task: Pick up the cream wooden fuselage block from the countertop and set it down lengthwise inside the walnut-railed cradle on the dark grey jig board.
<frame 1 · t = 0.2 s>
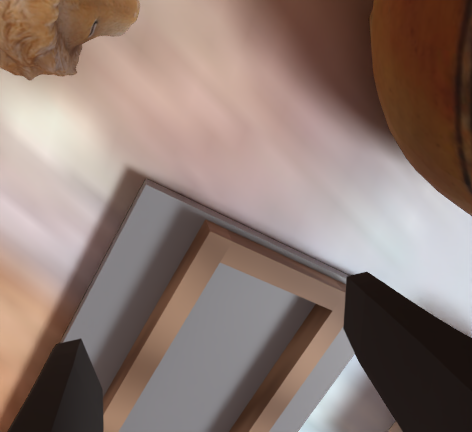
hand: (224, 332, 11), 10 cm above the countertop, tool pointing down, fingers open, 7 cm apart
jig board: (201, 367, 25), on the countertop
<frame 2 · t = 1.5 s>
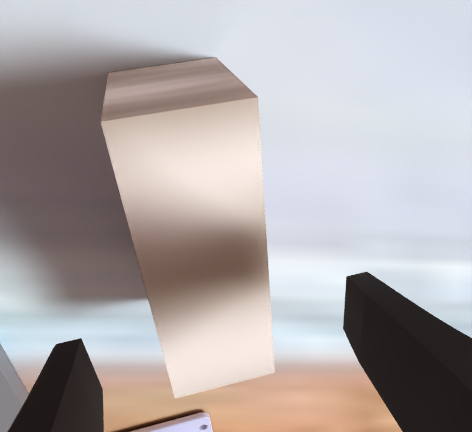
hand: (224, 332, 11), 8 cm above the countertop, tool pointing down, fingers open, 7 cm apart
fuselage block: (185, 193, 18), on the countertop
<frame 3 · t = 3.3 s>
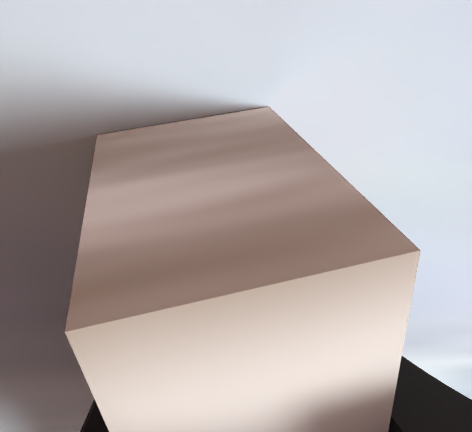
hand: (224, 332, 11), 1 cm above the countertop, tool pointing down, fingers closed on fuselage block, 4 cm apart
fuselage block: (214, 297, 12), on the countertop, touching gripper
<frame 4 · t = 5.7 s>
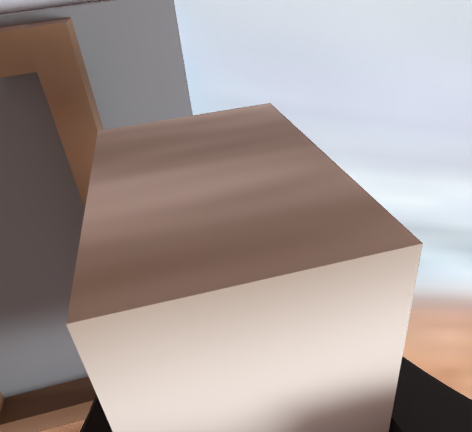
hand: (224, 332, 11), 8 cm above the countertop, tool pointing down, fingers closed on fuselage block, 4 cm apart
jig board: (25, 250, 18), on the countertop
fuselage block: (214, 294, 12), point 7 cm above the countertop, touching gripper
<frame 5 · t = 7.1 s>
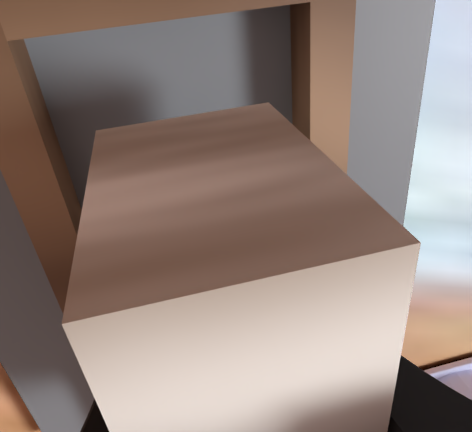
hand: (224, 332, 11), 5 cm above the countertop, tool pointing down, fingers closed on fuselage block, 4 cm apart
jig board: (197, 231, 16), on the countertop
fuselage block: (213, 294, 12), point 4 cm above the countertop, touching gripper
when the fingers open (3 cm above the countertop, at t = 8.3 s): fuselage block stays where it is, resting on jig board.
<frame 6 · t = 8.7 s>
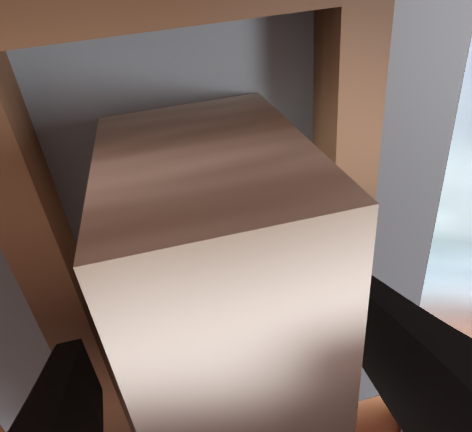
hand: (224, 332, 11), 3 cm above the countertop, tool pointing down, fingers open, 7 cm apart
jig board: (203, 258, 14), on the countertop
fuselage block: (208, 275, 13), point 1 cm above the countertop, touching jig board
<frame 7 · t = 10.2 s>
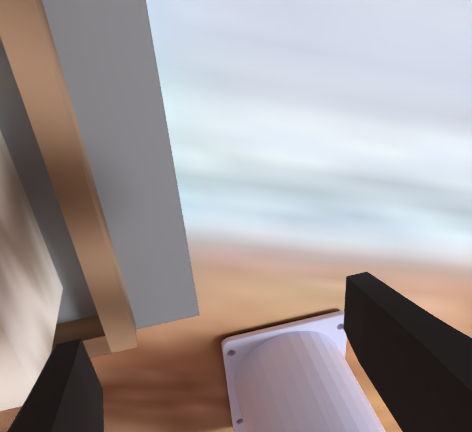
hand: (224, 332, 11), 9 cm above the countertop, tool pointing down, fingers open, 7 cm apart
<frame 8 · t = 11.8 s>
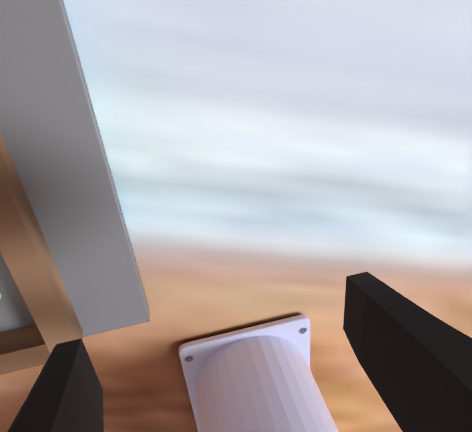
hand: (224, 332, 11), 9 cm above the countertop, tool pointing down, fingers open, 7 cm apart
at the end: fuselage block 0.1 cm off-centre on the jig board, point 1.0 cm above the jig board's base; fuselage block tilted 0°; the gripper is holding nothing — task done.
